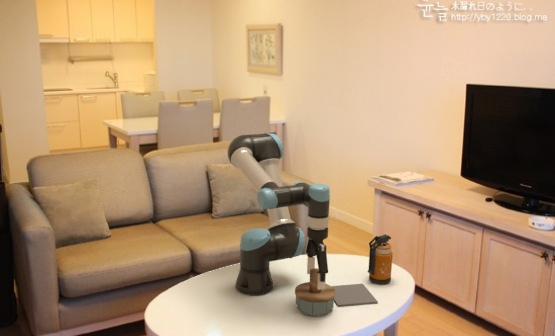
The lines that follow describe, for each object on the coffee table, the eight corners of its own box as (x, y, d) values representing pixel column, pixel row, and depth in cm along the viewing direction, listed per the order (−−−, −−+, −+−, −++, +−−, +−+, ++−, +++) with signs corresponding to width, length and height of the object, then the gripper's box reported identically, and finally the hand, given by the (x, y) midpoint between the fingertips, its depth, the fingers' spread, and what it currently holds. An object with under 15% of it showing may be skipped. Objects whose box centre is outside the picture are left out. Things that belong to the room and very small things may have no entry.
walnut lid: (290, 285, 215) (291, 264, 213) (328, 282, 219) (329, 261, 216) (300, 304, 201) (301, 280, 199) (340, 300, 204) (341, 277, 202)
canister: (395, 281, 235) (398, 236, 230) (375, 288, 229) (379, 241, 224) (379, 274, 242) (383, 230, 237) (360, 279, 236) (363, 235, 231)
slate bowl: (293, 301, 216) (293, 286, 215) (325, 298, 219) (326, 284, 217) (302, 317, 204) (302, 302, 202) (336, 314, 206) (337, 299, 205)
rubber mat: (325, 288, 227) (325, 286, 227) (362, 285, 231) (362, 283, 231) (337, 306, 212) (338, 305, 212) (377, 303, 216) (377, 301, 216)
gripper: (338, 238, 193) (336, 295, 197) (317, 215, 216) (315, 267, 221) (317, 239, 191) (315, 296, 196) (299, 216, 215) (297, 268, 219)
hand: (315, 281), depth 208 cm, fingers open, 13 cm apart
